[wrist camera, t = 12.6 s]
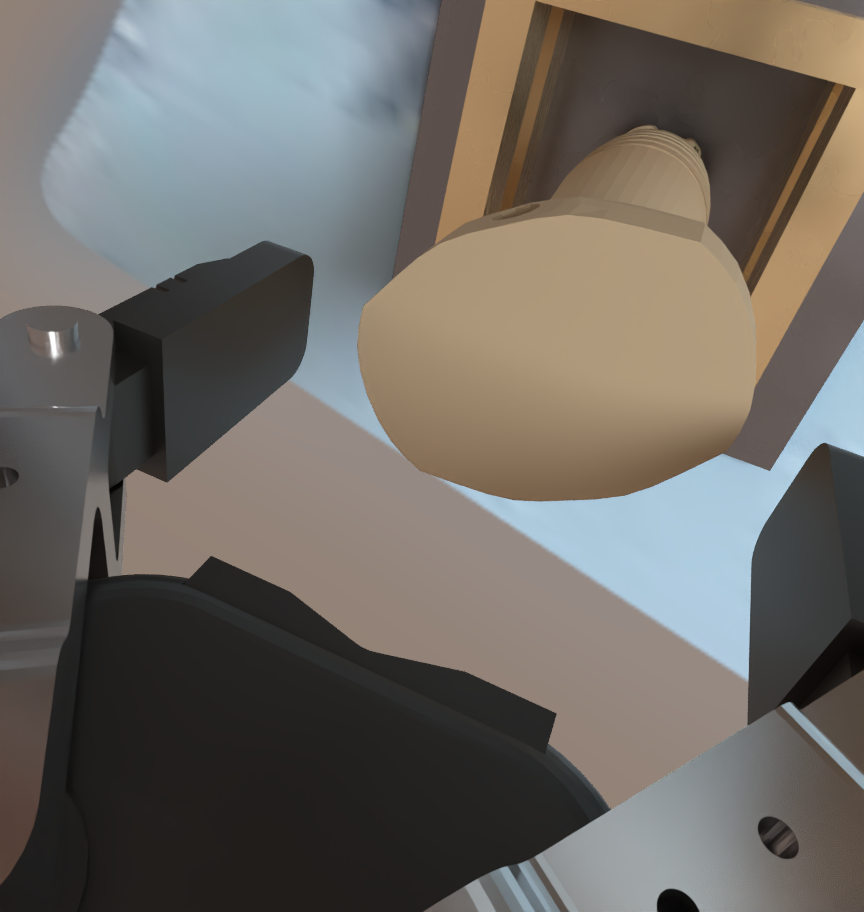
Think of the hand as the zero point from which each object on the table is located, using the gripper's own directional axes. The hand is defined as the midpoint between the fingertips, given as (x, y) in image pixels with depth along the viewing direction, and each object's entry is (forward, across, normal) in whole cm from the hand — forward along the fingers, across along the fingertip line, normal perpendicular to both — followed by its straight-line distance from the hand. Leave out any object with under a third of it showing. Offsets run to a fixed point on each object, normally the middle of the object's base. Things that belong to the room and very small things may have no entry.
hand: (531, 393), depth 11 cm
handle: (+16, 0, 0) cm, 16 cm away
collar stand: (+17, 0, 0) cm, 17 cm away
